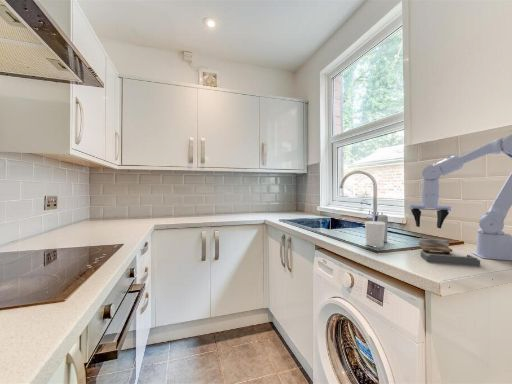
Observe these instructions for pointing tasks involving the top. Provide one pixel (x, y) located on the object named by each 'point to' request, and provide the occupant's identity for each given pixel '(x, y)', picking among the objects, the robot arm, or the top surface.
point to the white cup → (375, 233)
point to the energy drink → (384, 219)
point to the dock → (450, 259)
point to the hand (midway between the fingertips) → (428, 227)
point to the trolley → (435, 245)
